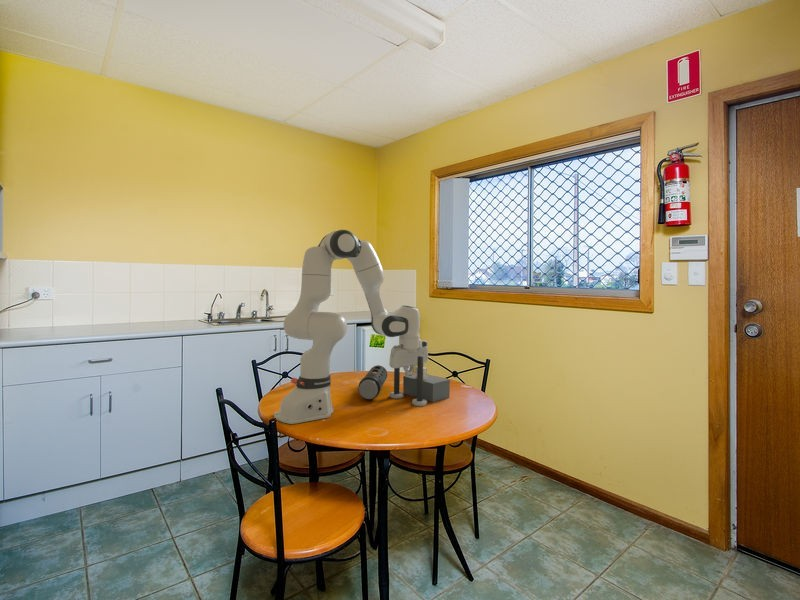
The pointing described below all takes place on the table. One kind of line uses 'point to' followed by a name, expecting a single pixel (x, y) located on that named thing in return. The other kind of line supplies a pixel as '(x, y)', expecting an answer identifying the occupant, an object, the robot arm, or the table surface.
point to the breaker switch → (423, 373)
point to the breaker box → (427, 387)
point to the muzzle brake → (372, 382)
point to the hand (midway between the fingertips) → (408, 375)
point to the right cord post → (419, 384)
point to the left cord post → (396, 385)
